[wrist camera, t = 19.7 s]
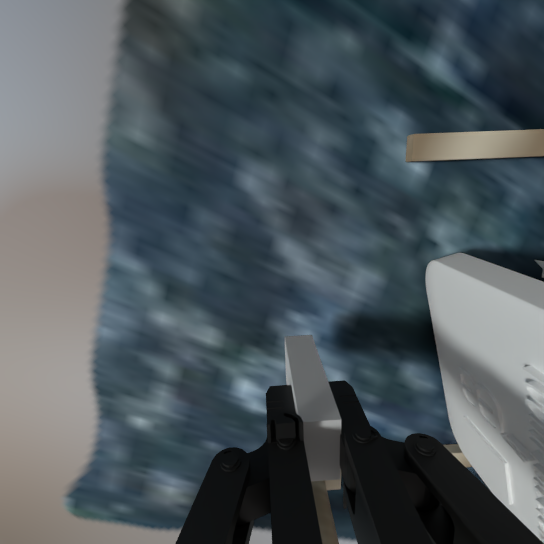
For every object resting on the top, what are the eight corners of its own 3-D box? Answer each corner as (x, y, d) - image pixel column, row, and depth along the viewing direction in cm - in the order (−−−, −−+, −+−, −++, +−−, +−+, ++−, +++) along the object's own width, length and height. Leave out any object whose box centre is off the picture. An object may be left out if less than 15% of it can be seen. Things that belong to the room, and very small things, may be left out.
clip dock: (676, 125, 19) (1451, 27, 7) (581, 464, 26) (876, 724, 14) (258, 141, 18) (260, 61, 6) (274, 486, 25) (291, 782, 13)
